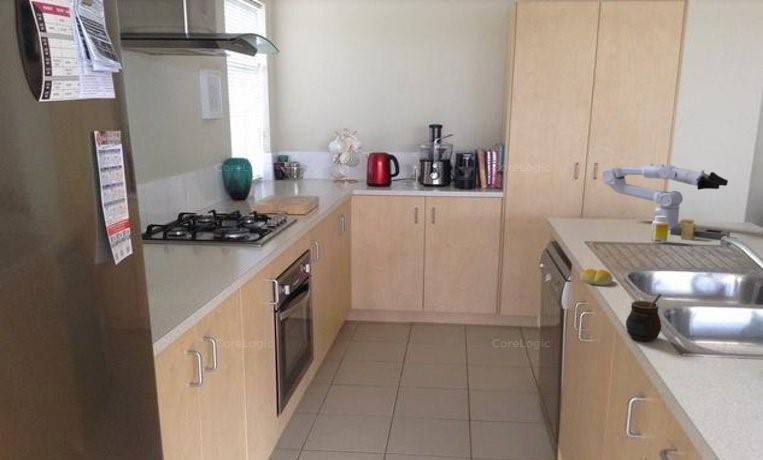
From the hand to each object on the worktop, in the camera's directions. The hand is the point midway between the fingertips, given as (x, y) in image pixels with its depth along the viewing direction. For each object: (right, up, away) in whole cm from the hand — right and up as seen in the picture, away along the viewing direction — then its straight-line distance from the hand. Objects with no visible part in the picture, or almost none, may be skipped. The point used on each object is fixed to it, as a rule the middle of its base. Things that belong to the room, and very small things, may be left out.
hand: (723, 184), depth 240 cm
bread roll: (-73, -34, -61) cm, 101 cm away
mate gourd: (-79, -43, -106) cm, 139 cm away
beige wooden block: (-13, -20, +5) cm, 24 cm away
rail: (-9, -21, +1) cm, 23 cm away
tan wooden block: (-16, -22, -4) cm, 28 cm away
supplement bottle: (-30, -23, -9) cm, 39 cm away
